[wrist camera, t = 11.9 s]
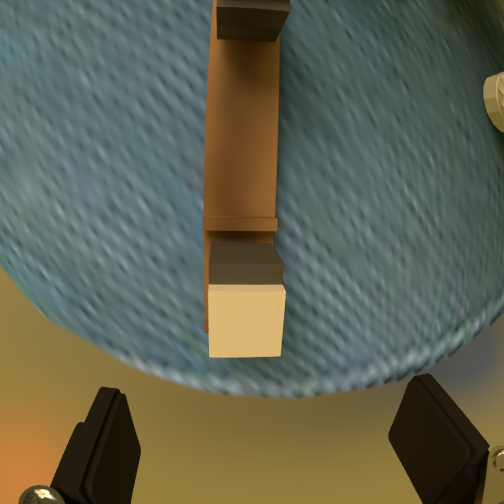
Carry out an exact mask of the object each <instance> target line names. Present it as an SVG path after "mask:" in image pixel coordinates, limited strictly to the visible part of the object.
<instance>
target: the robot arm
mask: <svg viewBox="0 0 504 504" xmlns="http://www.w3.org/2000/svg"><path fill="white" fill-rule="evenodd" d="M388 436H389V441H390V443H391V445H392V447H393V449H394V450H395V452H396V454H397V456H398V458H399V460H400V462H401V463H402V465H403V467H404V469H405V471H406V473H407V475H408V476H409V478H410V480H411V482H412V484H413V486H414V487H415V489H416V492H417V494H418V495H419V497H420V499H421V501H422V503H423V504H504V446H497V447H495V448H493V449H492V450H491V452H489V451H488V448H489V447H490V445H489V444H488V443H487V441H486V440H485V439H484V438H483V437H482V435H481V434H480V433H479V431H478V430H477V429H476V428H475V427H474V425H473V424H472V423H471V422H470V420H469V419H468V418H467V417H466V415H465V414H464V413H463V412H462V411H461V409H460V408H459V407H458V406H457V405H456V403H455V402H454V401H453V400H452V399H451V397H450V396H449V395H448V394H447V393H446V392H445V390H444V389H443V388H442V387H441V386H440V385H439V383H438V382H437V381H436V380H435V379H434V378H433V376H432V375H430V374H423V375H418V376H414V377H413V378H412V380H411V381H410V382H409V383H408V385H407V388H406V391H405V394H404V396H403V399H402V402H401V404H400V407H399V409H398V412H397V414H396V416H395V419H394V421H393V424H392V426H391V428H390V431H389V434H388ZM140 454H141V449H140V444H139V441H138V438H137V435H136V431H135V428H134V424H133V421H132V417H131V414H130V410H129V406H128V403H127V399H126V396H125V394H121V393H120V390H119V389H116V388H107V387H101V388H100V389H99V391H98V393H97V395H96V398H95V400H94V402H93V404H92V406H91V409H90V411H89V413H88V416H87V418H86V420H85V422H84V423H83V422H79V423H78V424H77V425H76V427H75V429H74V431H73V433H72V436H71V438H70V440H69V442H68V445H67V447H66V449H65V451H64V454H63V456H62V458H61V461H60V463H59V466H58V468H57V470H56V473H55V476H54V478H53V480H52V483H51V485H50V487H48V486H43V485H37V486H32V487H30V488H28V489H26V490H25V491H24V492H23V493H22V494H21V496H20V498H19V504H131V499H132V493H133V488H134V483H135V478H136V474H137V469H138V464H139V459H140Z"/></svg>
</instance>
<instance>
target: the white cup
mask: <svg viewBox="0 0 504 504" xmlns="http://www.w3.org/2000/svg"><path fill="white" fill-rule="evenodd" d="M483 100H484V104H485V107H486V111H487V114H488V116H489V117H490V119H491V121H492V123H493V125H494V126H496V127H497V128H498V129H499V130H500V131H501V132H504V72H501V73H498V74H494V75H492V76H490V77H488V78H487V79H486V81H485V83H484V86H483Z"/></svg>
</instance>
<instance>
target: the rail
mask: <svg viewBox="0 0 504 504" xmlns="http://www.w3.org/2000/svg"><path fill="white" fill-rule="evenodd" d="M289 12H290V0H214V1H213V12H212V24H211V37H210V51H209V66H208V84H207V103H206V127H205V159H204V216H203V231H204V302H205V320H204V331H205V332H208V333H209V321H208V287H209V256H210V248H211V242H244V243H270V244H271V245H272V247H273V248H274V231H277V227H278V219H277V218H276V217H275V203H276V177H277V147H278V112H279V66H280V31H281V29H282V27H283V24H284V22H285V20H286V18H287V16H288V14H289Z"/></svg>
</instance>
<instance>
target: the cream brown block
mask: <svg viewBox="0 0 504 504" xmlns="http://www.w3.org/2000/svg"><path fill="white" fill-rule="evenodd" d="M283 269H284V263H283V262H282V260H281V259H280V257H279V256H278V254H277V253H276V251H275V250H274V248H273V247H272V245H271V244H270V243H244V242H211V248H210V256H209V287H208V321H209V357H273V356H280V355H281V344H282V333H283V321H284V309H285V296H286V291H285V289H284V287H283V285H282V283H283Z"/></svg>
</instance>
